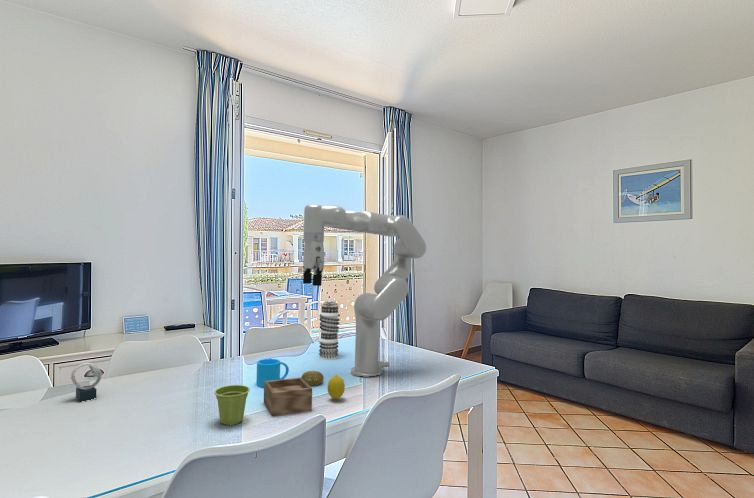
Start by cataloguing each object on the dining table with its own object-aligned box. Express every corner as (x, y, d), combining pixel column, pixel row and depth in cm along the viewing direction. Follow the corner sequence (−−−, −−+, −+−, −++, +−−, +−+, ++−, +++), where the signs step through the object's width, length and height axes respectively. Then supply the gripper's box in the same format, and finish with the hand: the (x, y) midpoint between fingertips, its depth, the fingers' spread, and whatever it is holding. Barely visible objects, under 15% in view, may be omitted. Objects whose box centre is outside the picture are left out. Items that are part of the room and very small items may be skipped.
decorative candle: (321, 354, 197) (322, 300, 197) (340, 355, 196) (342, 301, 196) (315, 359, 188) (317, 302, 188) (336, 360, 187) (337, 303, 187)
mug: (262, 389, 146) (262, 365, 146) (252, 383, 152) (253, 360, 152) (293, 383, 154) (294, 360, 154) (283, 377, 160) (283, 356, 160)
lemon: (327, 396, 141) (328, 372, 141) (344, 396, 141) (345, 372, 141) (327, 402, 135) (327, 377, 135) (344, 402, 136) (345, 377, 136)
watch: (103, 397, 134) (104, 362, 134) (72, 403, 129) (73, 367, 129) (98, 393, 138) (100, 359, 138) (68, 398, 132) (69, 363, 132)
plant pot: (214, 430, 113) (215, 397, 113) (212, 417, 122) (213, 386, 122) (250, 425, 117) (251, 393, 117) (246, 412, 125) (247, 383, 125)
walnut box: (300, 398, 139) (301, 377, 139) (311, 411, 128) (312, 388, 128) (263, 403, 134) (264, 381, 134) (271, 417, 123) (272, 393, 123)
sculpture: (321, 369, 159) (325, 375, 152) (321, 379, 159) (324, 386, 152) (300, 370, 157) (302, 376, 149) (300, 381, 157) (302, 387, 149)
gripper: (332, 238, 152) (330, 286, 152) (314, 239, 167) (312, 282, 167) (312, 237, 148) (311, 286, 148) (296, 238, 163) (294, 282, 163)
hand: (312, 284), depth 158 cm, fingers open, 9 cm apart
